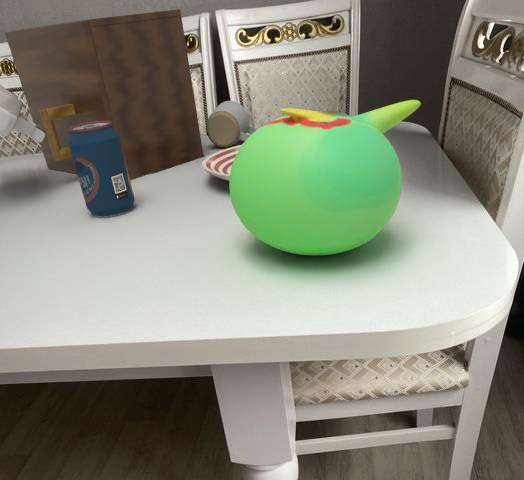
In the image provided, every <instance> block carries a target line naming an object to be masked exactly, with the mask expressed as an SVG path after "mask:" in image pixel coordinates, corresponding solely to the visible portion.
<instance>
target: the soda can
mask: <svg viewBox="0 0 524 480" xmlns="http://www.w3.org/2000/svg"><path fill="white" fill-rule="evenodd" d="M69 131H70V134H69V139H68V144H69V148H70V151H71V155H72V158H73V162H74V165H75V169H76V172H77V174H76V176H77V179H78V182H79V186H80V189H81V193H82V196H83V199H84V202H85V206H86V209H87V210H88V211H89V213H91V214H92V215H93V216H94V217H96V218H100V219H101V218H104V219H105V218H106V219H107V218H113V217H117V216H121V215H125V214H126V213H129V212H130V211H132V209H133V208H134V203H135V199H136V198H135V195H134V190H133V186H132V182H131V180H130V178H129V173H128V169H127V165H126V161H125V157H124V153H123V149H122V144H121V140H120V136H119V134H118V132H117V131H116V130H115V128H114V127H113V126H112V122H111V121H107V120H103V121H92V122H86V123H81V124H77V125H74V126H71V127H69Z"/></svg>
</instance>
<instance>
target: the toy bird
mask: <svg viewBox="0 0 524 480" xmlns="http://www.w3.org/2000/svg"><path fill="white" fill-rule="evenodd" d="M421 105H422V102H421V101H419V100H418V99H409V100H404V101H399V102H396V103H393V104H389V105H385V106H383V107H382V106H381V107H380V108H376V109H373V110H370V111H367V112H363V113H360V114H357V115H356V114H355V115H353V116H351V115H349V114H347V113H344V112H342V111H335V110H327V111H325V110H324V111H323V110H321V111H320V110H319V111H318V110H310V109H302V108H294V107H284V108H283V107H282V108H280V109H279V111H280V113H283V114H285V115H284V116H281V117H280V116H279V117H278V118H275V119H273V120H272V121H269V122H266V123H265V124H264V125H262V126H261V127H259V128H256V129H257V130H256V131H255V132H254V133H253V134H249V135H250V136H249V137H248V138H247V140H246V141H245V142H244V141H243V143H242V144H241V145H242V146H241V147H240V149H239V151H238V153H237V155H236V157H235V159H234V162H233V165H232V168H231V172H230V180H229V181H228V182H229V183H228V185H229V196H230V201H231V204H232V207H233V209H234V212H235V214H236V216H237V217H238V219H239V220H240V222H241V224H242V225H243V227H245V229H247V231H249V233H250V234H252V235H253V236H254V237H255V238H256V239H258V240H259V241H261V242H263V243H264V244H266V245H268V246H270V247H272V248H274V249H277V250H279V251H283V252H286V253H290V254H295V255H303V256H328V255H335V254H341V253H345V252H348V251H352V250H354V249H356V248H359V247H361V246H363V245H365V244H366V243H368V242H370V241H371V240H372V239H374V238H375V237H376V236H377V235H378V234H379V233H380V232H381V231H382V230H384V229H385V228H386V226H387V224H388V223H389V222H390V220H391V219H392V217H393V216H394V214H395V212H396V210H397V207H398V205H399V202H400V198H401V194H402V190H403V189H402V188H403V173H402V166H401V163H400V159H399V157H398V154H397V152H396V150H395V148H394V147H393V145H392V144H391V141H389V139H388V138H387V137H386V136H385V135H384V134H386V133H387V132H388V131H389V130H391V129H392V128H394V127H395V126H396V125H398V124H400V123H401V122H402V121H403V120H405V119H406V118H408V117H409V116H410V115H412V114H413V113H414V112H416V111H417V110H418V109H419V108H420V106H421Z"/></svg>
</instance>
